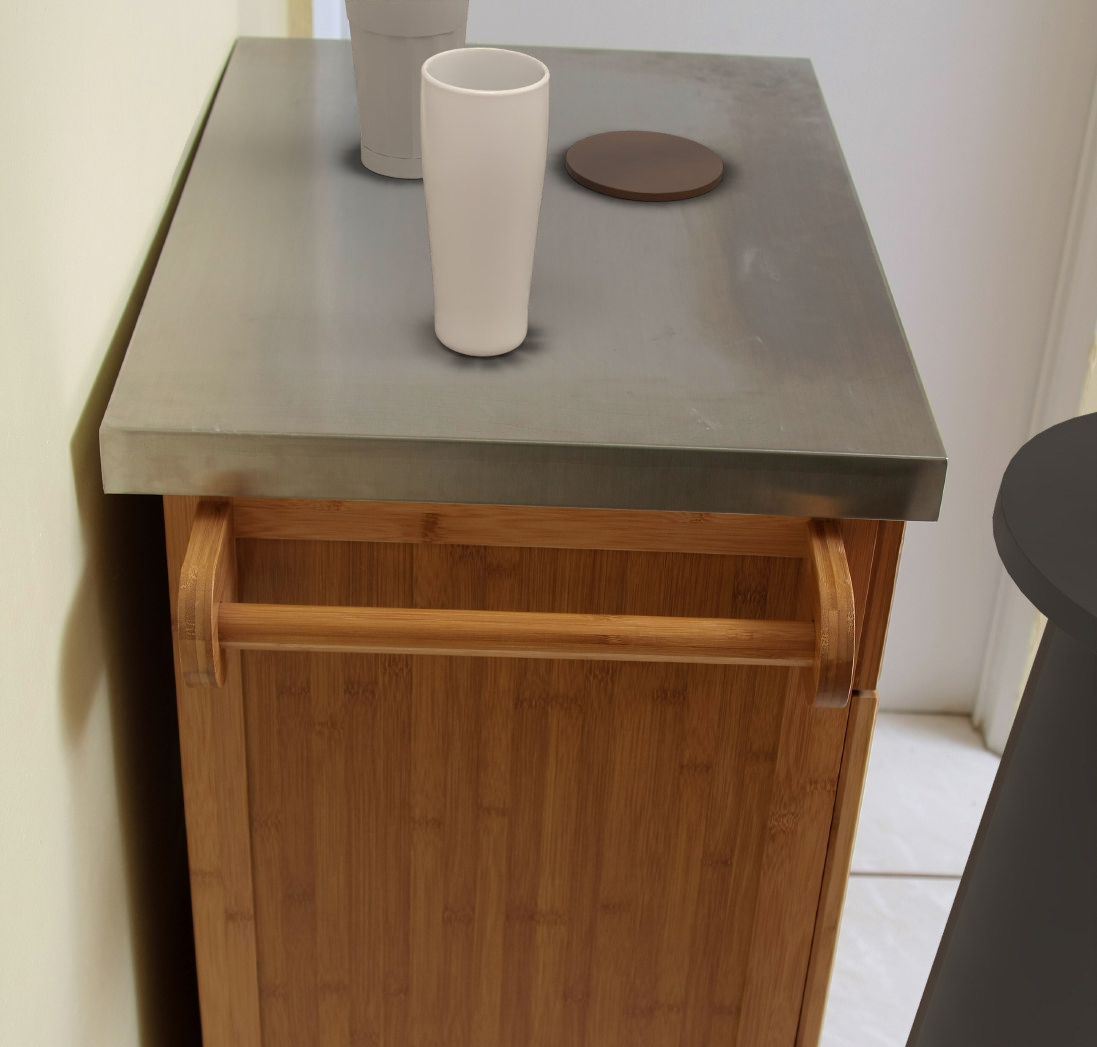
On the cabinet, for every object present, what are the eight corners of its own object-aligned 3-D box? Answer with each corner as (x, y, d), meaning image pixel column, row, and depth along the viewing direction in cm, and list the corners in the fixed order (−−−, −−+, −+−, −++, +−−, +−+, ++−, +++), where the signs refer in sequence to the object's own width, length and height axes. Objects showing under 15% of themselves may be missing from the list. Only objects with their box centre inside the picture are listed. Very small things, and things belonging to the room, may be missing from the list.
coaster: (751, 167, 110) (752, 159, 109) (665, 215, 103) (666, 206, 102) (624, 126, 114) (625, 118, 114) (534, 170, 107) (534, 161, 107)
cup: (384, 127, 112) (379, -66, 103) (490, 150, 110) (493, -46, 101) (326, 168, 106) (315, -34, 97) (437, 193, 104) (436, -11, 95)
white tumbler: (562, 349, 89) (577, 79, 79) (461, 378, 86) (464, 101, 76) (498, 301, 93) (505, 38, 83) (400, 327, 90) (394, 57, 80)
